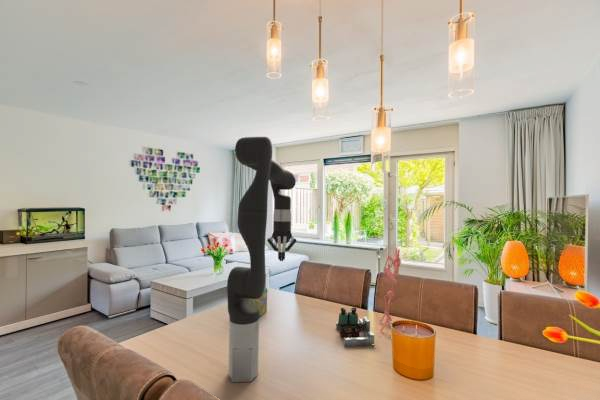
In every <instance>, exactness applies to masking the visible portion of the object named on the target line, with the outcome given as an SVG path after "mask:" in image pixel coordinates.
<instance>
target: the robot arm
mask: <svg viewBox="0 0 600 400" xmlns="http://www.w3.org/2000/svg"><path fill="white" fill-rule="evenodd" d="M234 149H235V150H234V152H235V157H236V159H237V161H238V162H239V163H240V164H241V165H243V166H245V167H248V168H250V169H251V170H254V171H255V174H254V177H253V181H252V182H251V184H250V185H249V188H247V190H246V191H245V192H244V194H243V196H242V197H241V199H240V201H239V203H238V209H237V228H238V232H239V234H240V236H241V238H242V240H243V242H244V244H245V246H246V247H247V250H248V254H249V260H250V262H249V263H250V267H244V266H234V267H233V268H231V270H230V272H229V274H228V278H227V281H226V282H227V283H226V284H227V285H226V289H227V291H226V296H227V312H228V315H229V320H228V321H229V322H228V323H229V327H228V377H229V379H230V380H231V381H230V382H231V383H243V382H245V383H247V382H253V380H254V379H255V378H256V377H257V376H258V375H259V353H260V352H259V350H260V349H259V348H260V347H259V346H260V345H259V344H260V337H259V336H260V317H259V309H258V308H257V307H256V306H254V305H253V304H251V303H250V302H249V301H248V300H247V299H246V298H248V299H259V298H260V297H261V296H262V294H263V292H264V288H266V286H265V285H266V241H267V243H268V245H270V246H271V248H272V249H273V250H274V251H275V252H277V253H278V255H277V259H278V260H279V262H284V261H285V259H286V252H289V251H290V250H291V249H292V247H293V246H294V245H295V244H296V243H297V238H295V237H293V234H292V211H291V207H292V200H291V199H292V198H291V196H290V195H286V194H282V192H281V190H283V191H284V190H288V191H289V190H292V189H294V187H295V186H296V182H297V181H296V176H295V175H294V174H293V173H292V172H290V171H289V170H287V169H285V168H283V167H282V166H281V165H280V164H279V163H278V162H277V161H275V160H273V145H272V141H271V139H270V138H269V137H268V136H245V137H241V138H239V139H238V140H237V141H236V143H235V147H234ZM269 182H270V183H269ZM269 185H270V186H271V190H272V194H273V201H274V202H273V203H274V207H273V209H274V210H273V215H272V216H273V218H272V219H273V222H272V223H273V224H272V225H273V226H272V233H271V236H270V237H269V238H267V240H266V232H267V223H268V222H267V221H268V197H269ZM289 241H290V243H289ZM274 242H275V243H276V244H277V246H276V244H274ZM288 243H289V244H288ZM287 244H288V246H287ZM286 246H287V247H286Z"/></svg>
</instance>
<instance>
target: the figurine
mask: <svg viewBox="0 0 600 400" xmlns="http://www.w3.org/2000/svg"><path fill="white" fill-rule="evenodd" d="M400 250H401V249H400V248H397V247H395V249H394V258H393V257H392V256H390V255H389V254H387V258H386V260H385V264H384V267H383V272H382V273H383V275H382V280H383V281H384V280H385V276H386V277H387V278H389V279H390V280H391V281H392V282H391V290H389V291H387V294H386V295H384V296H383V297H384V305H385V310H383V312H384V314H383V316H382V318H381V319H380V320H379V322H381V323H382V322H383V320H384V318H385V322H384V323H383V326H382V328H381V329H380V330H381V331H382V332H383V330H384V329H385V326H386V324H388V326H389V328H390V329H391V324H392V322H393V321H392V317H391V315H390V314H389V312H390V311H389V310H390V309H389V307H390V306H389V304H390V301H391V299H392V298H393V297H394V295H395V294H394V291H393V288H394V284H397V279H396V278H399V274H400V273H399V272H400V271H399V270H400V269H399V267H400V266H401V264H402V261H401V258H400V252H401V251H400ZM388 261H390V262H391V263H390V264H389V266H388V267H387V265H388ZM392 266H393V272H392V270H391V269H390V268H391V267H392ZM386 297H389V300H388V303H387V300H386ZM385 316H386V317H385ZM390 321H392V322H390ZM381 331H380V332H381ZM379 338H381V336H379Z"/></svg>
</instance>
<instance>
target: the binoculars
mask: <svg viewBox="0 0 600 400" xmlns="http://www.w3.org/2000/svg"><path fill="white" fill-rule="evenodd" d="M350 310H351V311H348V312H346V311H347V309H345V308H343V307H341V308H340V311H341V312H339V314H338V321H337V322H338V327H339V328H340V329H339V330H338V333H340V335H339V336H340V338H341V339H344V338H349V335H351V338H353V337H354V338H357V337H360V336H361V335H360V333H362V332H361V326H360V325H358V324H359V323H358V322H359V314H358V313H357V307H352V308H351V309H350ZM348 326H349V328H350V329H349V331H346V330H347V329H345V328H347V327H348ZM355 328H358V329H355ZM359 328H360V329H359Z"/></svg>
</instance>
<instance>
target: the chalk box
mask: <svg viewBox="0 0 600 400" xmlns="http://www.w3.org/2000/svg"><path fill="white" fill-rule="evenodd" d="M246 299H247V300H248V301H249V302H250V303H251V304H253V305H254V306H256V307H257V308H258V309H259V318H261V316H263V315H264V314H265V313H267V309H268V288H267V287H265V288H264V292H263V294H262V296H261V297H260V298H259V299H248V298H246Z"/></svg>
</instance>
